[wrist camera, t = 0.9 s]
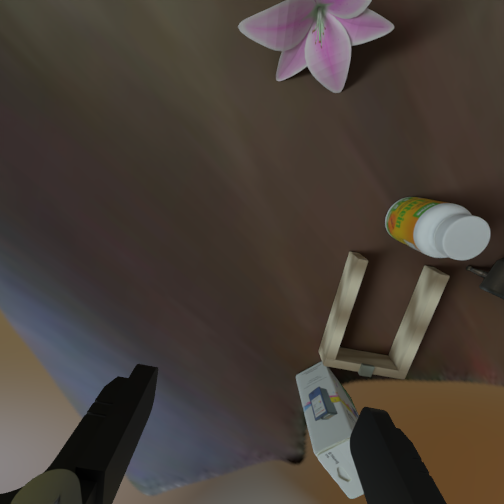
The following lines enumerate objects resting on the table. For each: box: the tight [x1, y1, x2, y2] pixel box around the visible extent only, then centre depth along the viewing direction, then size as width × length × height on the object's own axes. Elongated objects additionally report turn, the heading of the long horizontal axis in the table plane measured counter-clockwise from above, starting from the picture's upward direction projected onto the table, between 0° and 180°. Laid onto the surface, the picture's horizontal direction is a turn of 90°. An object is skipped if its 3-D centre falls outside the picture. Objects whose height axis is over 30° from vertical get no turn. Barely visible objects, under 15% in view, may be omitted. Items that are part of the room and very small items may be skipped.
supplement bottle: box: [385, 197, 490, 260], centre depth 28 cm, size 5×5×10 cm
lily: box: [238, 0, 394, 93], centre depth 24 cm, size 12×12×10 cm
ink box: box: [296, 361, 364, 499], centre depth 34 cm, size 9×5×12 cm, turn 34°
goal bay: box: [319, 251, 450, 379], centre depth 34 cm, size 15×11×3 cm
